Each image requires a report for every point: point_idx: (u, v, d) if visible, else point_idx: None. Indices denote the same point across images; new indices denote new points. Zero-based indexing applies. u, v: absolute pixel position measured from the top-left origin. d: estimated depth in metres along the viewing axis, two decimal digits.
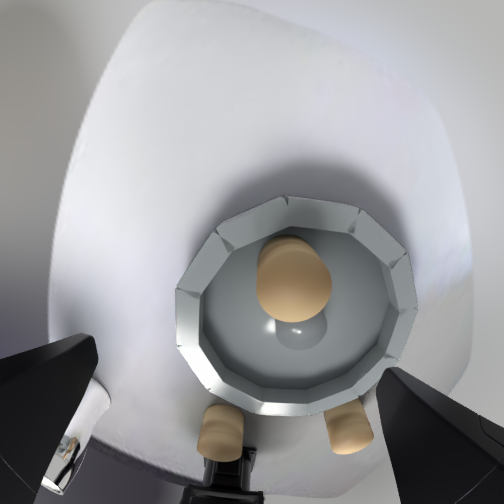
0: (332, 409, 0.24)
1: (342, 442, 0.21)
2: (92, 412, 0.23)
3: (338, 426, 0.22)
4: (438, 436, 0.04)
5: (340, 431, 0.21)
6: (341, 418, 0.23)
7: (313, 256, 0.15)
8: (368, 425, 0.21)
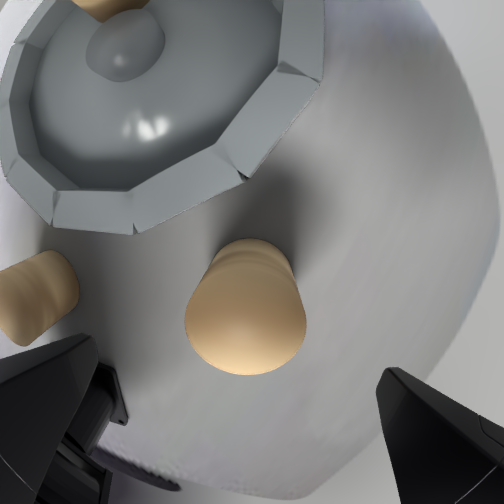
0: (214, 258, 0.13)
1: (209, 316, 0.10)
2: None
3: (205, 275, 0.11)
4: (438, 436, 0.04)
5: (203, 281, 0.10)
6: (218, 261, 0.11)
7: None
8: (285, 277, 0.10)
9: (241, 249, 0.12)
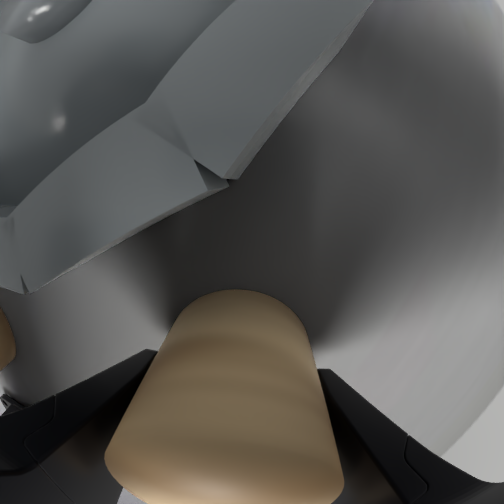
0: (171, 328, 0.07)
1: (149, 478, 0.03)
2: None
3: (139, 390, 0.04)
4: (351, 454, 0.04)
5: (128, 415, 0.04)
6: (167, 356, 0.05)
7: None
8: (309, 418, 0.04)
9: (215, 328, 0.06)
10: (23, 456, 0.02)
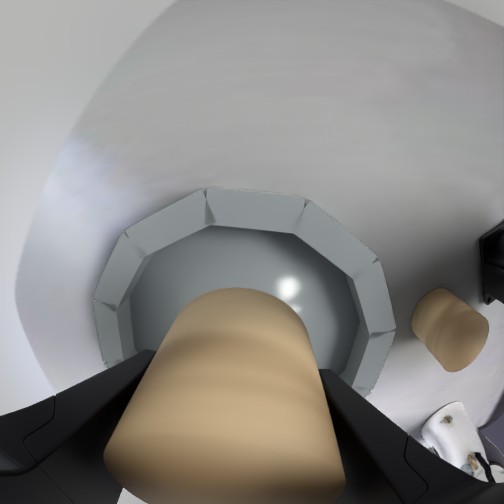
0: (171, 326, 0.07)
1: (148, 477, 0.03)
2: (451, 434, 0.17)
3: (138, 388, 0.04)
4: (351, 454, 0.04)
5: (127, 414, 0.04)
6: (167, 354, 0.05)
7: None
8: (310, 417, 0.04)
9: (215, 326, 0.06)
10: (23, 456, 0.02)
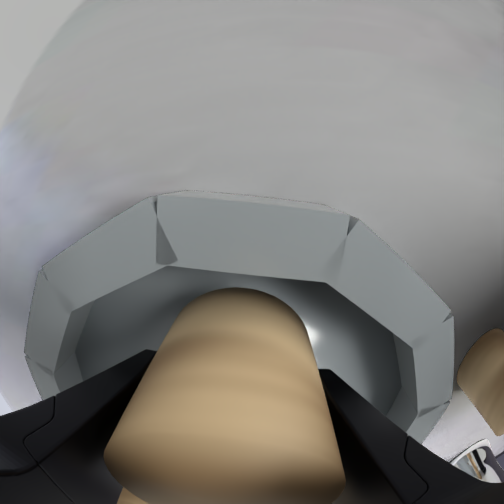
0: (171, 326, 0.07)
1: (148, 477, 0.03)
2: (476, 477, 0.11)
3: (138, 388, 0.04)
4: (351, 454, 0.04)
5: (128, 413, 0.04)
6: (167, 353, 0.05)
7: None
8: (310, 416, 0.04)
9: (215, 326, 0.06)
10: (22, 456, 0.02)
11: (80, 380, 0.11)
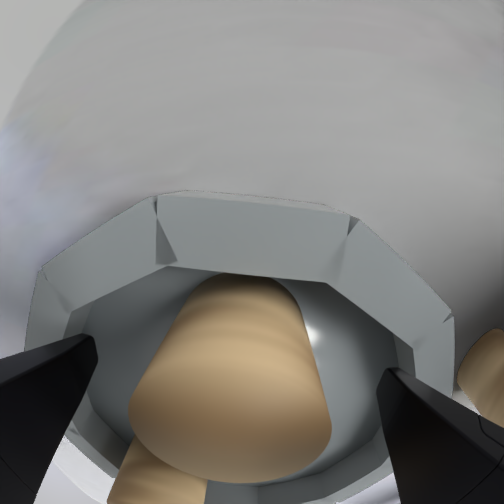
0: (184, 303, 0.08)
1: (166, 423, 0.05)
2: None
3: (160, 347, 0.06)
4: (438, 436, 0.04)
5: (152, 365, 0.05)
6: (184, 319, 0.06)
7: None
8: (299, 363, 0.05)
9: (223, 298, 0.07)
10: None
11: None
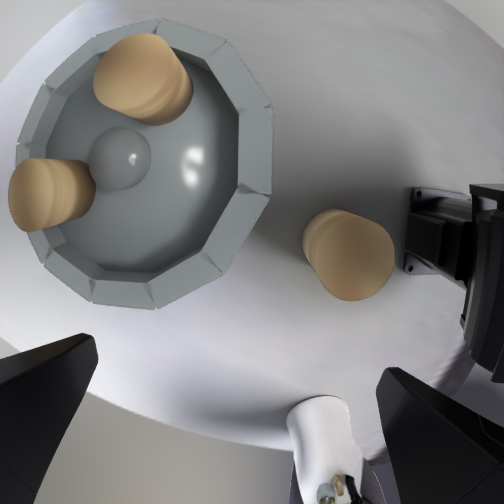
0: None
1: (115, 57, 0.10)
2: (320, 430, 0.18)
3: None
4: (438, 436, 0.04)
5: None
6: None
7: (9, 186, 0.12)
8: (173, 52, 0.11)
9: None
10: None
11: (56, 117, 0.15)
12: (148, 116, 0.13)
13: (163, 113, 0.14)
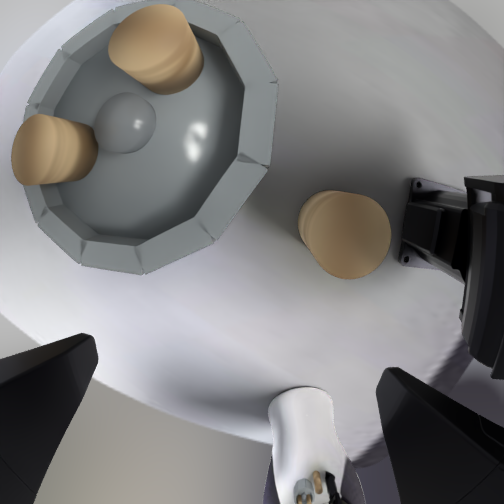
0: None
1: (132, 24, 0.10)
2: (302, 421, 0.18)
3: None
4: (438, 436, 0.04)
5: None
6: None
7: (14, 140, 0.11)
8: (188, 24, 0.10)
9: None
10: None
11: (68, 82, 0.14)
12: (157, 82, 0.13)
13: (172, 81, 0.13)
